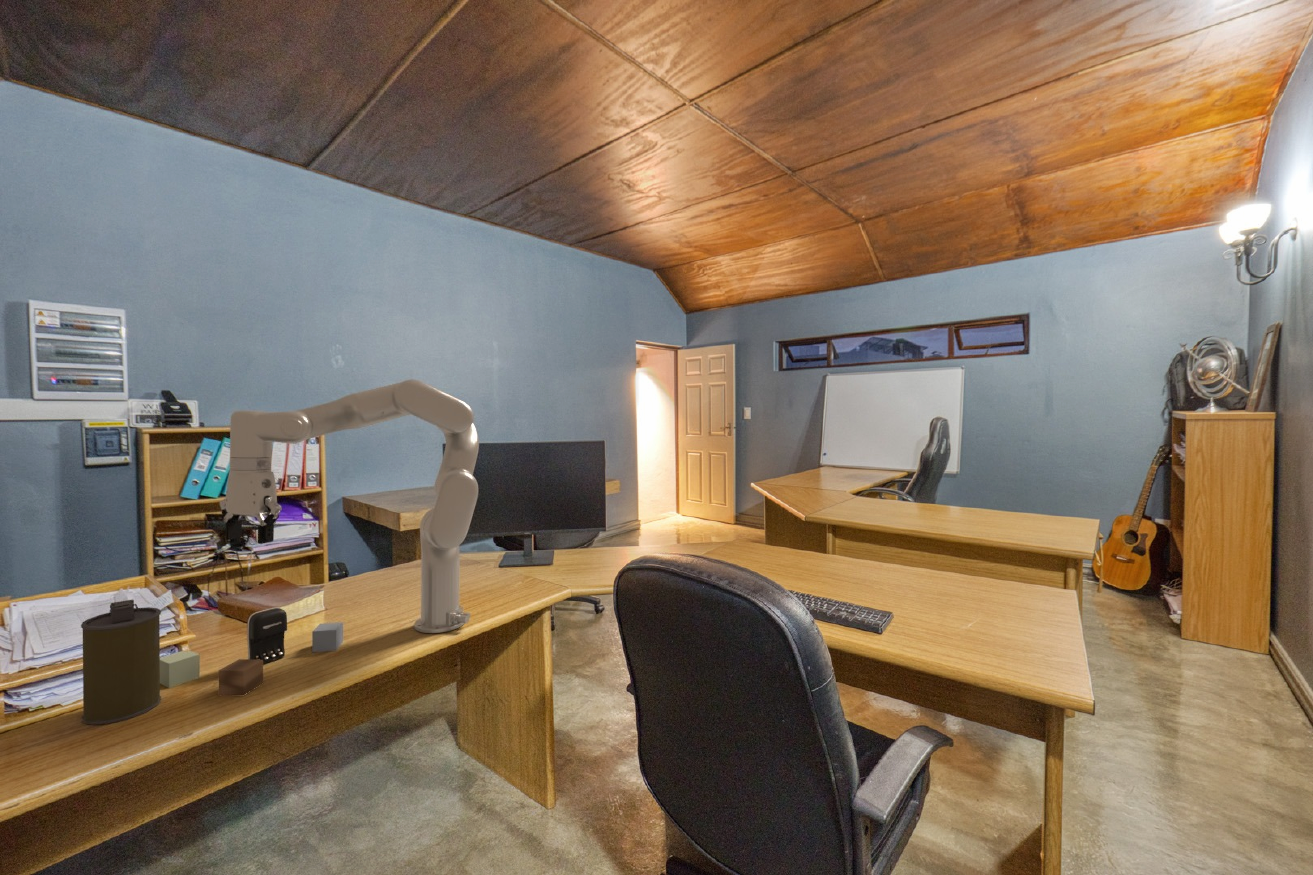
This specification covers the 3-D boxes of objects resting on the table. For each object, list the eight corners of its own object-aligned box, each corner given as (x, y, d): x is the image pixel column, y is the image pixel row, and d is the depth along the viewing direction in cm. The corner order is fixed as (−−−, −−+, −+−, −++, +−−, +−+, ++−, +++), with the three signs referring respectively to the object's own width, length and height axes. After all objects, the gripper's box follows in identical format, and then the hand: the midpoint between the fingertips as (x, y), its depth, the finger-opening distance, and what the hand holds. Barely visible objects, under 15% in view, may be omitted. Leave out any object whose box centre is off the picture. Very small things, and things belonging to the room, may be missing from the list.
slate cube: (343, 642, 130) (343, 622, 130) (336, 650, 125) (336, 629, 125) (320, 644, 129) (320, 623, 129) (312, 652, 124) (312, 631, 124)
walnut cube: (263, 683, 109) (263, 659, 109) (243, 696, 104) (243, 671, 104) (239, 683, 109) (239, 659, 109) (218, 695, 104) (218, 670, 104)
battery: (254, 669, 115) (254, 617, 115) (246, 665, 117) (246, 613, 117) (289, 657, 121) (289, 607, 121) (281, 653, 123) (281, 604, 123)
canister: (164, 709, 99) (164, 602, 98) (82, 732, 91) (81, 617, 90) (157, 689, 106) (157, 589, 105) (80, 709, 98) (80, 602, 98)
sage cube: (199, 677, 111) (199, 654, 111) (169, 688, 106) (169, 663, 106) (187, 672, 113) (187, 649, 113) (157, 682, 109) (157, 658, 108)
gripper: (295, 466, 120) (294, 540, 121) (239, 462, 125) (238, 534, 126) (263, 468, 113) (261, 547, 113) (205, 464, 118) (203, 540, 118)
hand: (249, 540), depth 119 cm, fingers open, 9 cm apart
